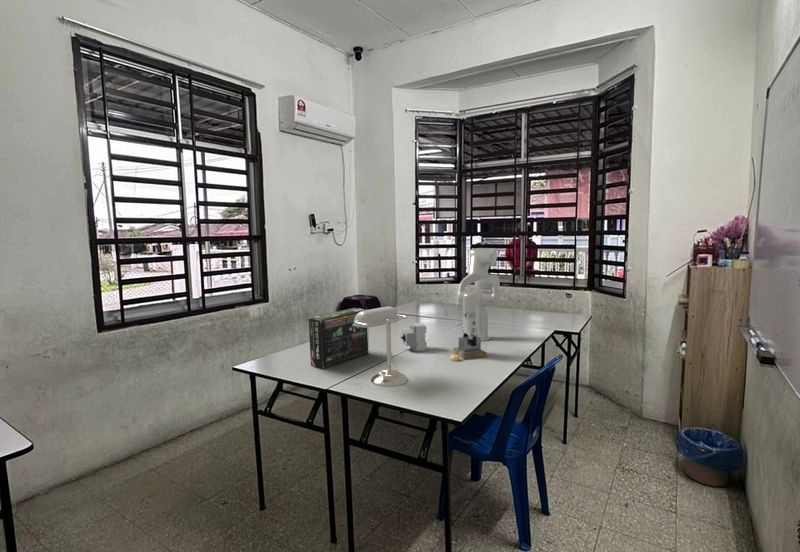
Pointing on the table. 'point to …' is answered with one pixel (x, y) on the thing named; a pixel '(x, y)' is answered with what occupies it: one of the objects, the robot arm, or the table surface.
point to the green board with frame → (469, 353)
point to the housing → (469, 344)
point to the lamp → (386, 317)
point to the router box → (336, 338)
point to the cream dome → (454, 357)
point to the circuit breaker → (415, 337)
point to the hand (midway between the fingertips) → (469, 344)
